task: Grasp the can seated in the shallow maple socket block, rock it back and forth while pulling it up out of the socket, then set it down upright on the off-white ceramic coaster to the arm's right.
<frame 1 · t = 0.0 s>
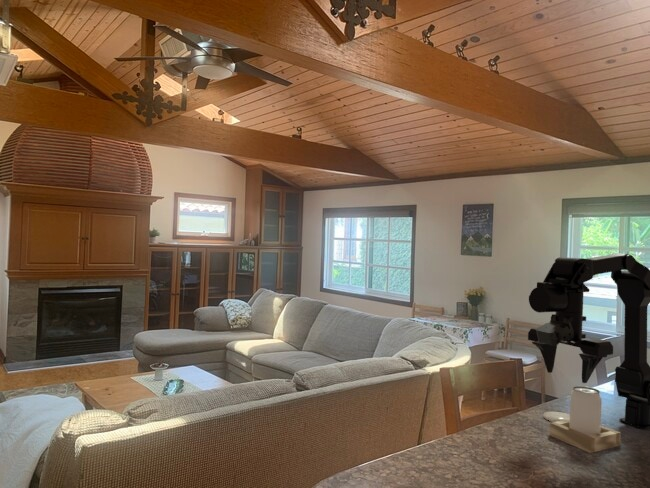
hand: (566, 377, 116), 15 cm above the kitchen counter, fingers open, 9 cm apart
socket block: (584, 440, 116), on the kitchen counter
can: (584, 441, 116), resting in socket block
coaster: (560, 419, 130), on the kitchen counter
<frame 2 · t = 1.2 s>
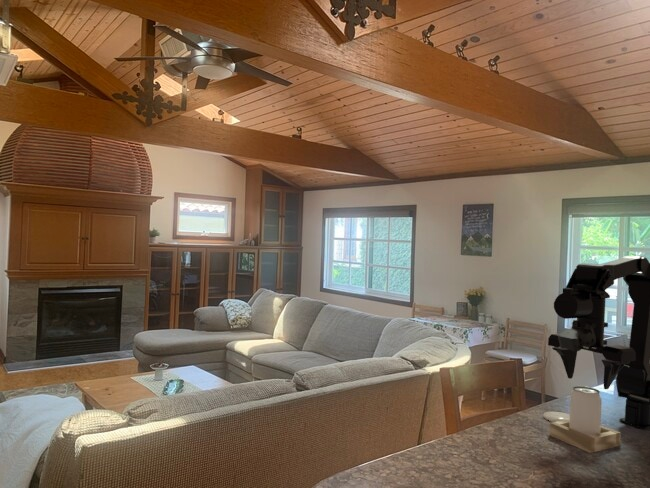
hand: (587, 383, 116), 13 cm above the kitchen counter, fingers open, 9 cm apart
nothing on the kitchen counter moved.
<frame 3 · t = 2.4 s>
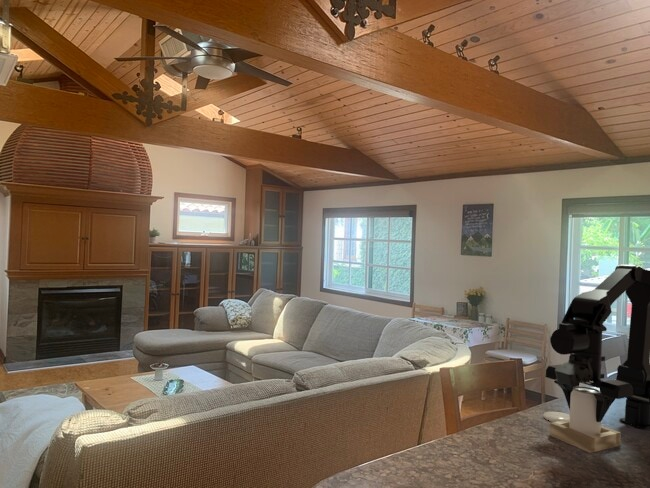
hand: (585, 416, 116), 6 cm above the kitchen counter, fingers closed on can, 6 cm apart
can: (584, 441, 116), resting in socket block, touching gripper
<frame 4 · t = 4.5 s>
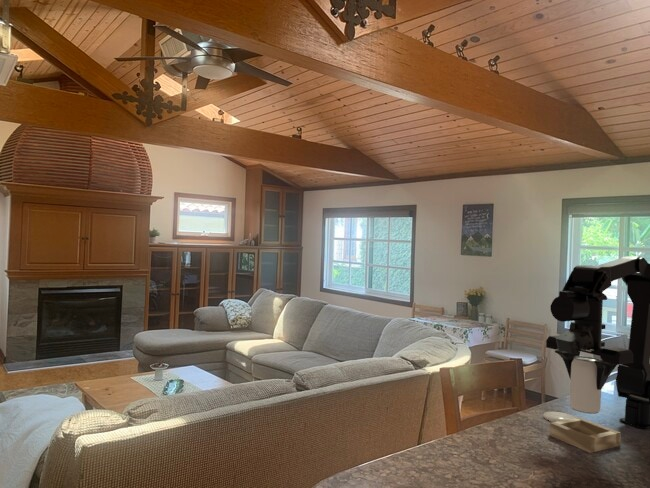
hand: (585, 385, 116), 13 cm above the kitchen counter, fingers closed on can, 6 cm apart
can: (584, 410, 116), point 7 cm above the kitchen counter, touching gripper
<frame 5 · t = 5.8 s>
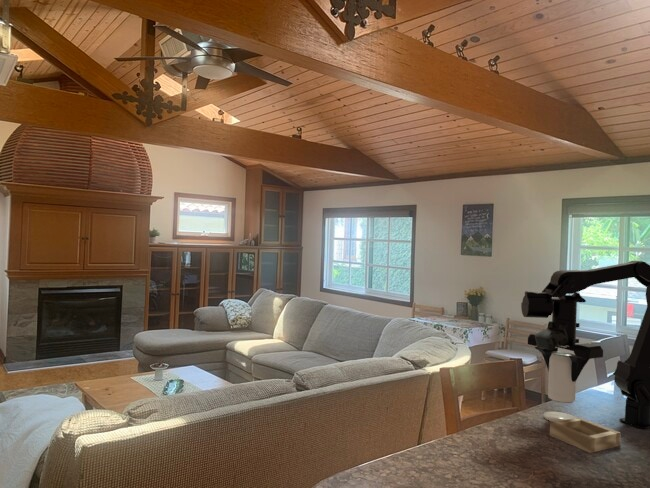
hand: (562, 377, 130), 11 cm above the kitchen counter, fingers closed on can, 6 cm apart
can: (561, 400, 130), point 5 cm above the kitchen counter, touching gripper
when the fingers open (7 cm above the kitchen counter, at t = 6.9 s): can stays where it is, resting on coaster.
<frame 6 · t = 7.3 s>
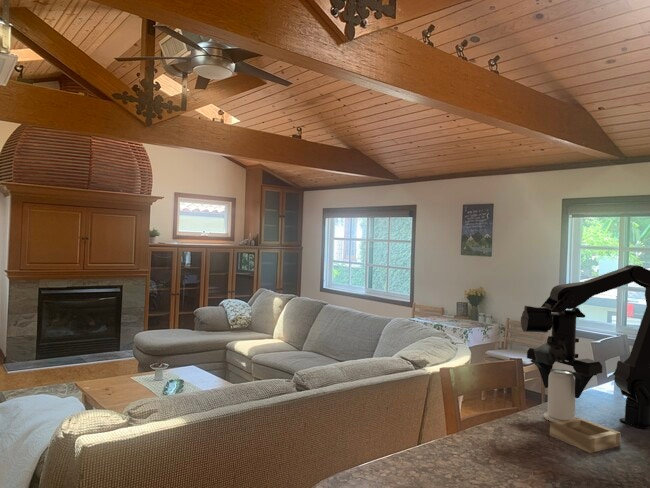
hand: (561, 392, 130), 7 cm above the kitchen counter, fingers open, 9 cm apart
can: (560, 417, 130), resting on coaster
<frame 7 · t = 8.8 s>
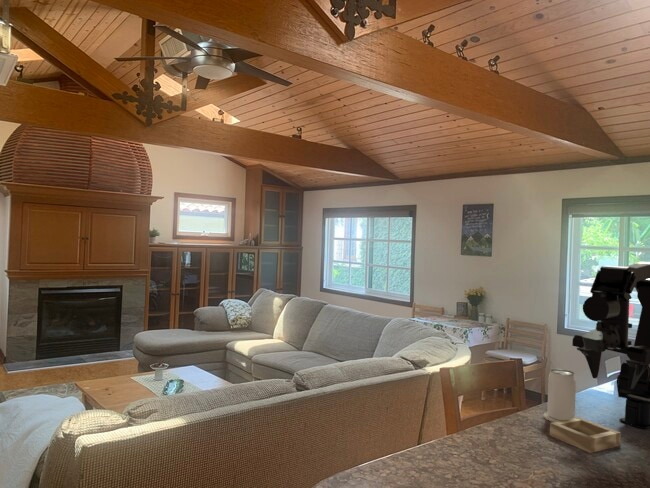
hand: (612, 383, 119), 13 cm above the kitchen counter, fingers open, 9 cm apart
nothing on the kitchen counter moved.
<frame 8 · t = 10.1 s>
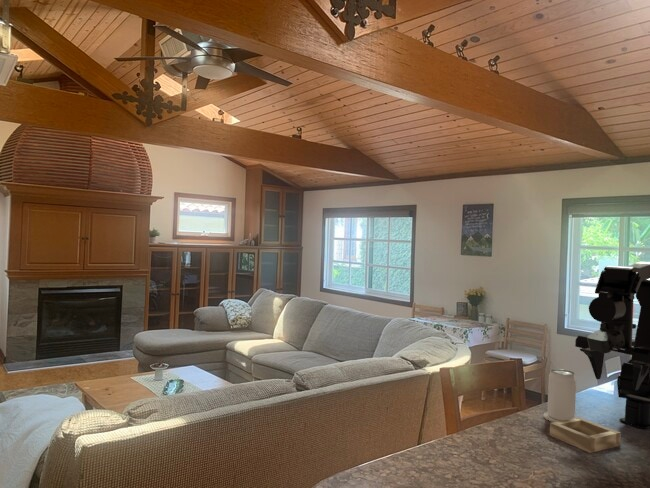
hand: (616, 384, 118), 13 cm above the kitchen counter, fingers open, 9 cm apart
nothing on the kitchen counter moved.
at the end: can 0.3 cm from the coaster (horizontally); can tilted 0°; the gripper is holding nothing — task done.
